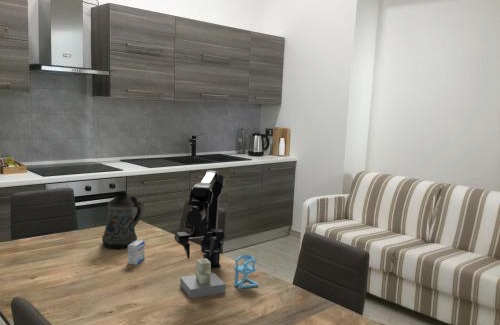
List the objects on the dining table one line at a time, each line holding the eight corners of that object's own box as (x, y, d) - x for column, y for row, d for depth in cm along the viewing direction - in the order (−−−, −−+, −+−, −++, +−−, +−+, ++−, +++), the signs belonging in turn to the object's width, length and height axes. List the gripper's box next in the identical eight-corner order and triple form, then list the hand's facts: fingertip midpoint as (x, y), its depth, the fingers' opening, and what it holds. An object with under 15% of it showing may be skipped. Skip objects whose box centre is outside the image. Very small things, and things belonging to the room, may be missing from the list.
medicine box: (136, 265, 191) (137, 246, 190) (127, 264, 192) (127, 244, 191) (144, 258, 199) (145, 240, 198) (135, 257, 200) (135, 239, 199)
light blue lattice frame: (230, 284, 176) (231, 255, 175) (246, 279, 182) (247, 251, 180) (242, 291, 170) (243, 261, 169) (258, 286, 176) (259, 257, 174)
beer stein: (94, 247, 211) (94, 196, 207) (118, 235, 229) (118, 188, 226) (125, 252, 206) (125, 200, 203) (146, 240, 225) (147, 192, 221)
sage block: (205, 277, 173) (206, 258, 172) (210, 282, 169) (210, 262, 167) (195, 279, 171) (196, 259, 170) (200, 284, 167) (200, 264, 166)
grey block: (213, 281, 179) (213, 272, 178) (225, 293, 168) (225, 284, 168) (180, 286, 173) (180, 277, 172) (190, 299, 162) (190, 289, 162)
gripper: (215, 210, 179) (214, 247, 182) (170, 214, 171) (170, 252, 173) (226, 218, 169) (224, 256, 172) (179, 222, 161) (178, 263, 163)
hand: (199, 257), depth 170 cm, fingers open, 9 cm apart
